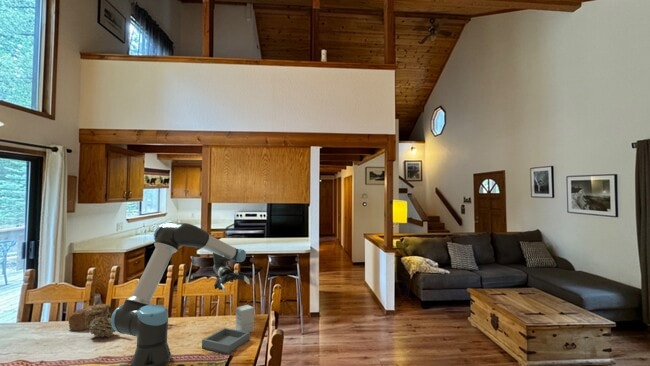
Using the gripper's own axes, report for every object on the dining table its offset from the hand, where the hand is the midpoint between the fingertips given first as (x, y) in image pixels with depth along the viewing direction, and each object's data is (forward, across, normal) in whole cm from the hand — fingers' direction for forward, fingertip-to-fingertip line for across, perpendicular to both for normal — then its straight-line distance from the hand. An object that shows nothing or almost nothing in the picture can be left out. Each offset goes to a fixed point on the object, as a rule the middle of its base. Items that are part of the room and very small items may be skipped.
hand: (237, 285), depth 171 cm
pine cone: (-26, +61, -17) cm, 68 cm away
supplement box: (+6, +1, -24) cm, 25 cm away
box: (+17, +13, -20) cm, 29 cm away
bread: (-53, +71, -18) cm, 91 cm away
